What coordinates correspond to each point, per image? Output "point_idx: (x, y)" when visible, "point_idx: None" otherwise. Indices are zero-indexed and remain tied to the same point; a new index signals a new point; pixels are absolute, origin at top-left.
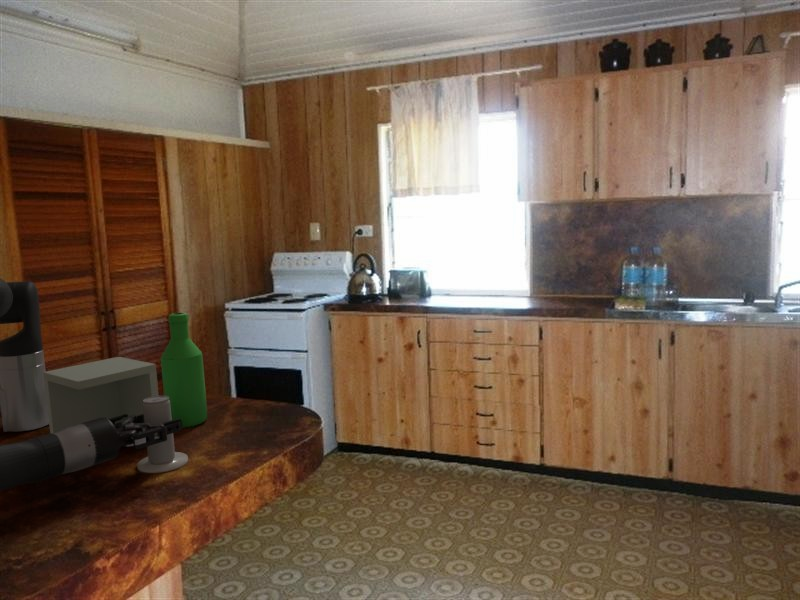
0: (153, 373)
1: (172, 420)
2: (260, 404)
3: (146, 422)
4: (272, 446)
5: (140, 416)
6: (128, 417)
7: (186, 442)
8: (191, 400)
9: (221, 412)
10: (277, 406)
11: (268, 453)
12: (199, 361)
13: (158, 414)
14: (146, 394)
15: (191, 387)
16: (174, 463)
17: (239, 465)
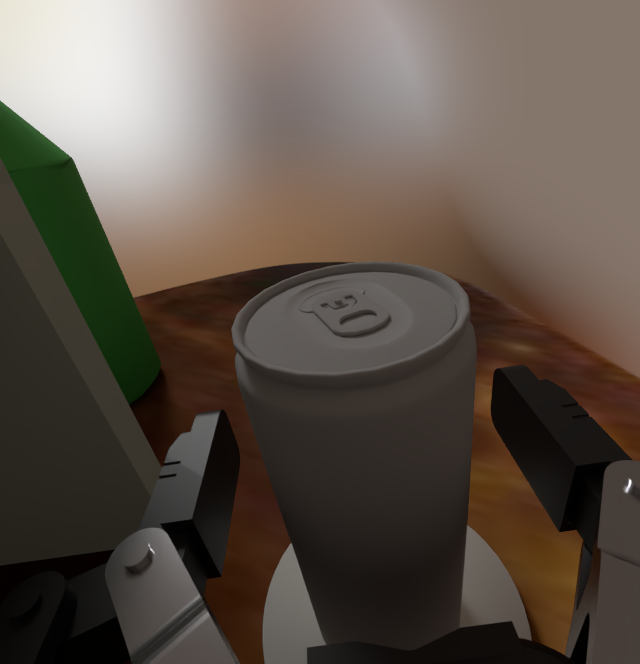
0: (2, 194)
1: (535, 397)
2: (199, 288)
3: (611, 575)
4: (482, 329)
5: (198, 509)
6: (204, 645)
7: (240, 446)
8: (120, 319)
9: (148, 332)
10: (242, 278)
11: (536, 346)
12: (82, 182)
13: (472, 414)
14: (4, 350)
15: (104, 277)
16: (475, 581)
17: (612, 416)
